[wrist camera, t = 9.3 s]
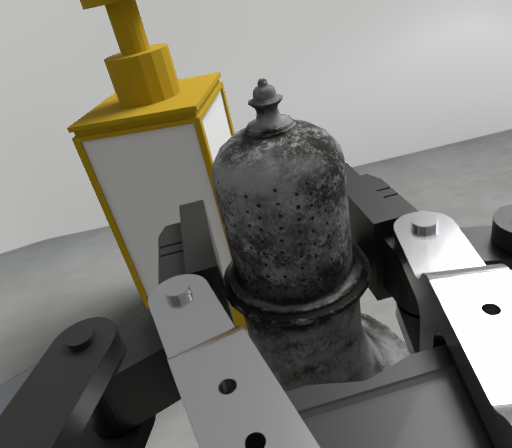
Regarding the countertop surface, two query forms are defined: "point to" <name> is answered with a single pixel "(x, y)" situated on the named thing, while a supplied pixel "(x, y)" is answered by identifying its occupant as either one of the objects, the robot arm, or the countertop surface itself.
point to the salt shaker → (297, 251)
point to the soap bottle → (152, 146)
